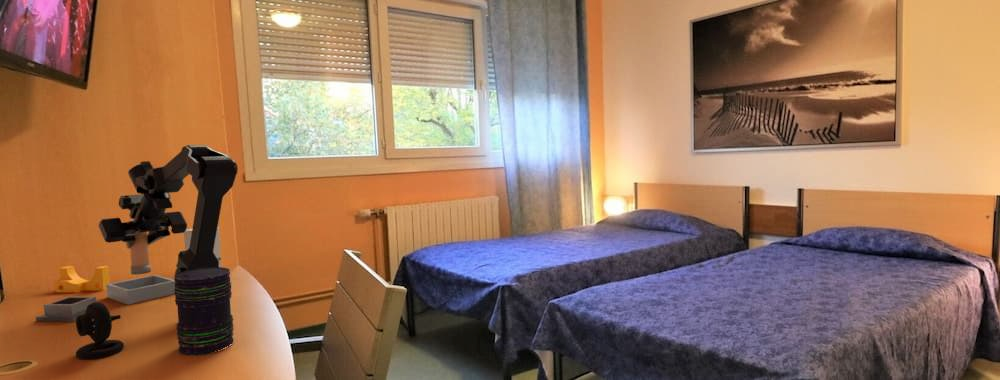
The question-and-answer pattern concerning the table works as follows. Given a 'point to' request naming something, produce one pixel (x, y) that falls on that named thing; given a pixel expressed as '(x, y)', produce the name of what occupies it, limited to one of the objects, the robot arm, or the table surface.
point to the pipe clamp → (82, 280)
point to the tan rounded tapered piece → (140, 254)
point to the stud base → (65, 309)
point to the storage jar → (203, 310)
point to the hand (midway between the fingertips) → (137, 245)
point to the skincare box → (216, 246)
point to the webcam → (97, 332)
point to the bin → (140, 289)
